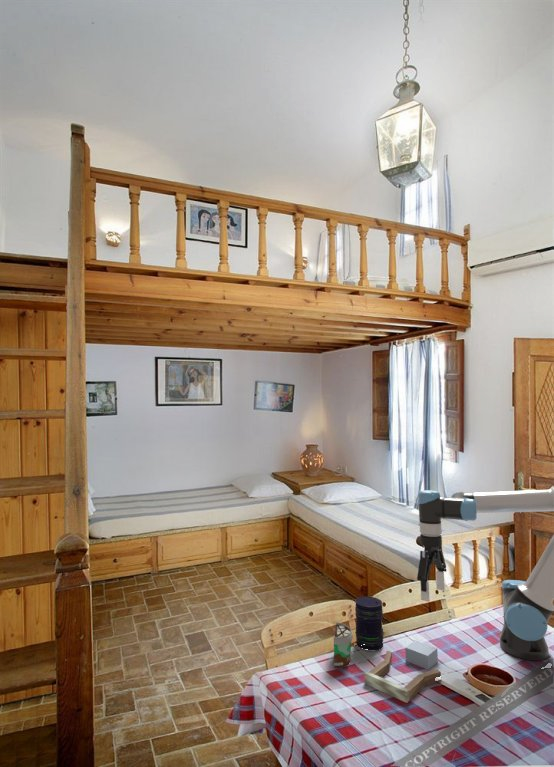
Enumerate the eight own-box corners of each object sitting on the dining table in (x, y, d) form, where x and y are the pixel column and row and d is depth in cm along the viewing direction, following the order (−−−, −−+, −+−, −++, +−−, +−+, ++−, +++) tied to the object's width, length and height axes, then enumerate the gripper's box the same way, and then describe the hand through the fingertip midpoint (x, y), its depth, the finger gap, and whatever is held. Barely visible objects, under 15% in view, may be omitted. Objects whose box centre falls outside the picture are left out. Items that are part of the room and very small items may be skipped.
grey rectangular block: (437, 662, 146) (437, 648, 147) (428, 670, 141) (427, 655, 142) (415, 653, 152) (415, 640, 152) (405, 661, 147) (405, 647, 147)
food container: (353, 672, 140) (352, 639, 141) (334, 670, 141) (333, 637, 142) (354, 653, 152) (353, 623, 153) (336, 651, 153) (336, 621, 154)
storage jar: (353, 648, 156) (352, 604, 157) (358, 636, 165) (357, 594, 166) (381, 653, 152) (380, 608, 153) (385, 640, 161) (384, 598, 162)
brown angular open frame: (441, 679, 136) (441, 669, 136) (414, 706, 123) (414, 695, 123) (387, 657, 149) (387, 648, 149) (357, 680, 135) (357, 670, 136)
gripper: (434, 526, 170) (436, 583, 168) (405, 538, 152) (407, 602, 149) (453, 529, 165) (456, 587, 163) (426, 542, 147) (429, 608, 144)
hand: (433, 595), depth 156 cm, fingers open, 13 cm apart
